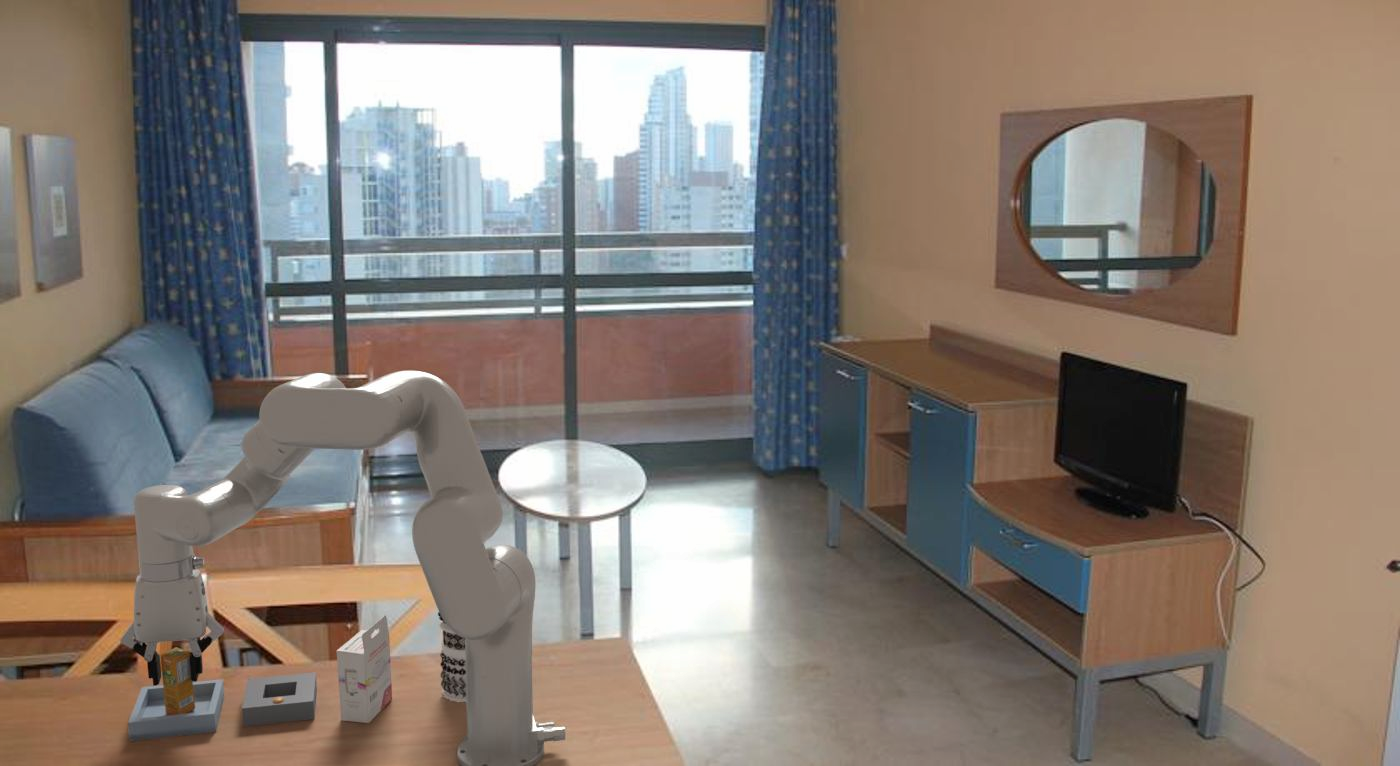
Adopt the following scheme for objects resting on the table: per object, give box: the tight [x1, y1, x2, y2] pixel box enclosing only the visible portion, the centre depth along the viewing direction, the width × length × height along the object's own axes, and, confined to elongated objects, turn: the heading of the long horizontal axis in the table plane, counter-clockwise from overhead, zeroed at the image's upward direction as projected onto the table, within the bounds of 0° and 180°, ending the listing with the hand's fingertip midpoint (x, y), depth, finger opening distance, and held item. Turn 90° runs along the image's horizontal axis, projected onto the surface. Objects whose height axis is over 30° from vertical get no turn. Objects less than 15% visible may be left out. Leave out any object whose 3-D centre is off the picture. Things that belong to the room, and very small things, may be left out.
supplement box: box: [160, 646, 195, 715], centre depth 186 cm, size 3×3×10 cm
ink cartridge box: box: [336, 615, 393, 724], centre depth 189 cm, size 9×5×15 cm, turn 168°
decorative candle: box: [437, 611, 466, 703], centre depth 195 cm, size 9×9×25 cm
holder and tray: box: [127, 671, 318, 741], centre depth 189 cm, size 26×12×3 cm, turn 105°
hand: (176, 678), depth 186 cm, fingers open, 4 cm apart
